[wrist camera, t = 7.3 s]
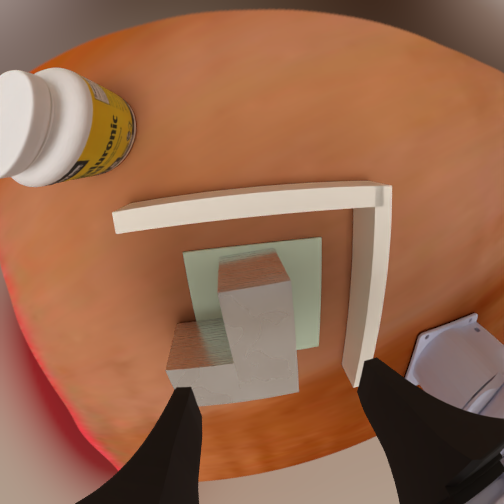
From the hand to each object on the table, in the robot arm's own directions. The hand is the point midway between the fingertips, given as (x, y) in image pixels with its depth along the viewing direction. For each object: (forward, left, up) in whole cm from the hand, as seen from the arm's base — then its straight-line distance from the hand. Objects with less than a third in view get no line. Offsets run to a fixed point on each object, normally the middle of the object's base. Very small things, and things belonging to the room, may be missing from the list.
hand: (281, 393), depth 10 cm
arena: (0, +1, -9) cm, 9 cm away
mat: (0, +1, -9) cm, 9 cm away
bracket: (+2, +1, -9) cm, 9 cm away
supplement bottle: (+9, -12, -9) cm, 18 cm away
